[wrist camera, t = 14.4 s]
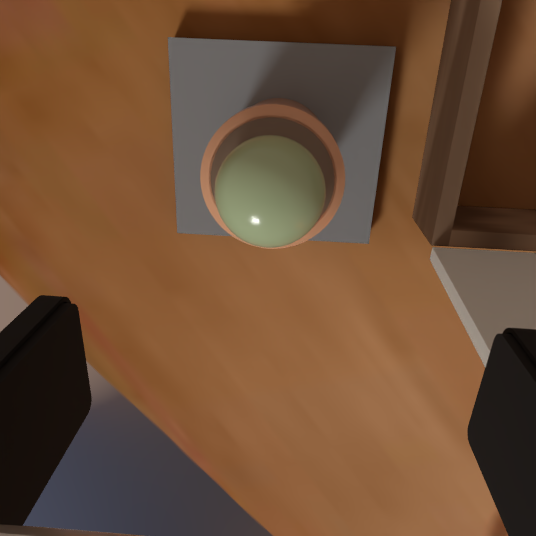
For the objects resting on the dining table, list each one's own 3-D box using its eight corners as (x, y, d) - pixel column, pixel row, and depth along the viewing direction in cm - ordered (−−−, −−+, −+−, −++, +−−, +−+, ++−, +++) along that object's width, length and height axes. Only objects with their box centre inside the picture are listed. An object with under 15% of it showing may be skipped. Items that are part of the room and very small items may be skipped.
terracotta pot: (338, 93, 28) (365, 122, 17) (328, 204, 30) (345, 292, 19) (223, 88, 28) (175, 113, 17) (224, 198, 31) (183, 282, 20)
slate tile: (391, 46, 28) (396, 46, 26) (365, 235, 33) (368, 243, 32) (174, 37, 28) (167, 37, 27) (182, 225, 33) (177, 232, 32)
